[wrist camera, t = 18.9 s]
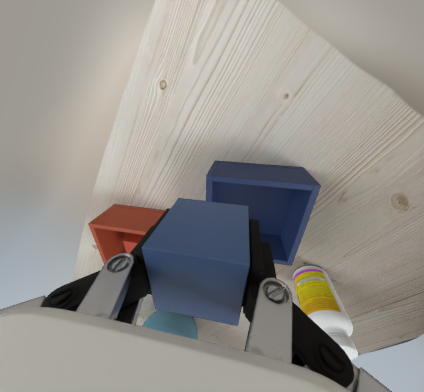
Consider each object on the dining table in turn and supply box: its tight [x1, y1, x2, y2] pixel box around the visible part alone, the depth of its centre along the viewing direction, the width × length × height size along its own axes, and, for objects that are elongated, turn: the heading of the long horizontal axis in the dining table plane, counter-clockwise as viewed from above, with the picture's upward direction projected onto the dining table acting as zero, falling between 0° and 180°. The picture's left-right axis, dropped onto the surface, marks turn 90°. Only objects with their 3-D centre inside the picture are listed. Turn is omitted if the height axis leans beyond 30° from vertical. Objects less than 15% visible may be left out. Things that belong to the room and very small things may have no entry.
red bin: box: [89, 204, 165, 264], centre depth 35 cm, size 14×14×7 cm
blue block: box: [142, 198, 250, 326], centre depth 10 cm, size 4×4×4 cm
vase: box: [142, 309, 198, 340], centre depth 41 cm, size 16×16×25 cm
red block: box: [123, 233, 144, 254], centre depth 35 cm, size 4×4×4 cm
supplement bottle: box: [293, 266, 358, 360], centre depth 30 cm, size 7×7×13 cm
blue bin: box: [206, 161, 321, 266], centre depth 27 cm, size 14×14×7 cm
